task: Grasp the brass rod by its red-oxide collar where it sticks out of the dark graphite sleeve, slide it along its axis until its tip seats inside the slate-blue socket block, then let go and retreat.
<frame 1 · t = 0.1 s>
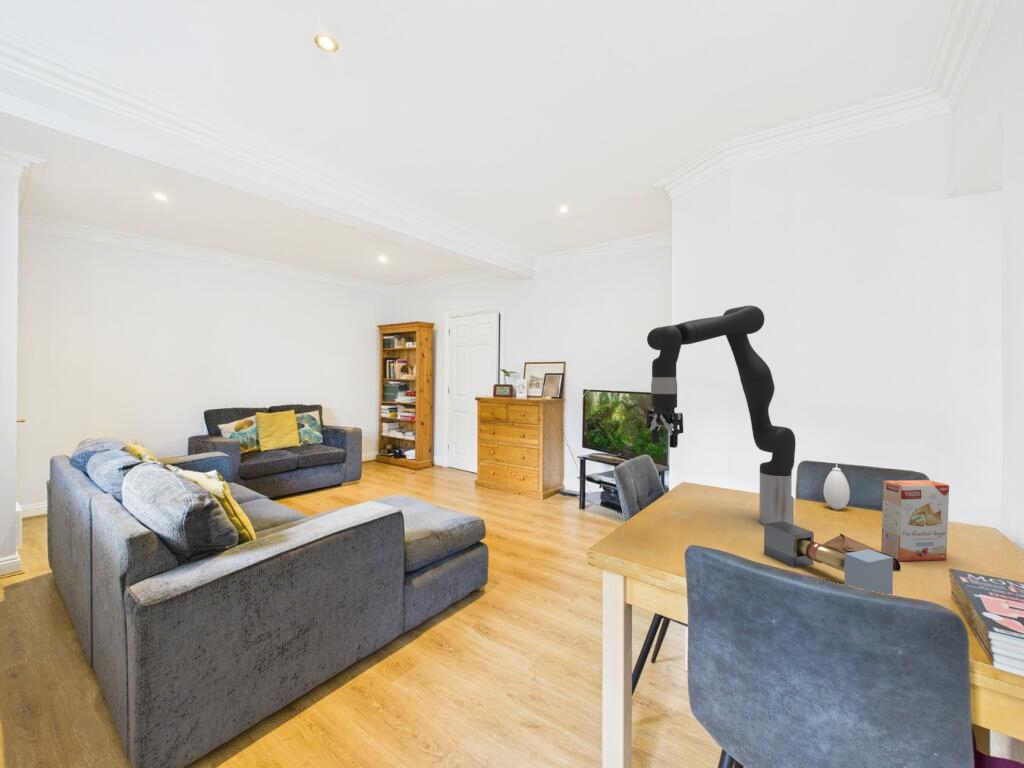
hand: (663, 445, 130), 29 cm above the table, fingers open, 8 cm apart
socket: (868, 594, 98), on the table
sleeve: (788, 558, 117), on the table
cracker box: (914, 557, 118), on the table
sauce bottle: (836, 509, 160), on the table
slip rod: (807, 548, 112), point 5 cm above the table, slide at 0.0 cm
sunglasses case: (855, 559, 118), on the table
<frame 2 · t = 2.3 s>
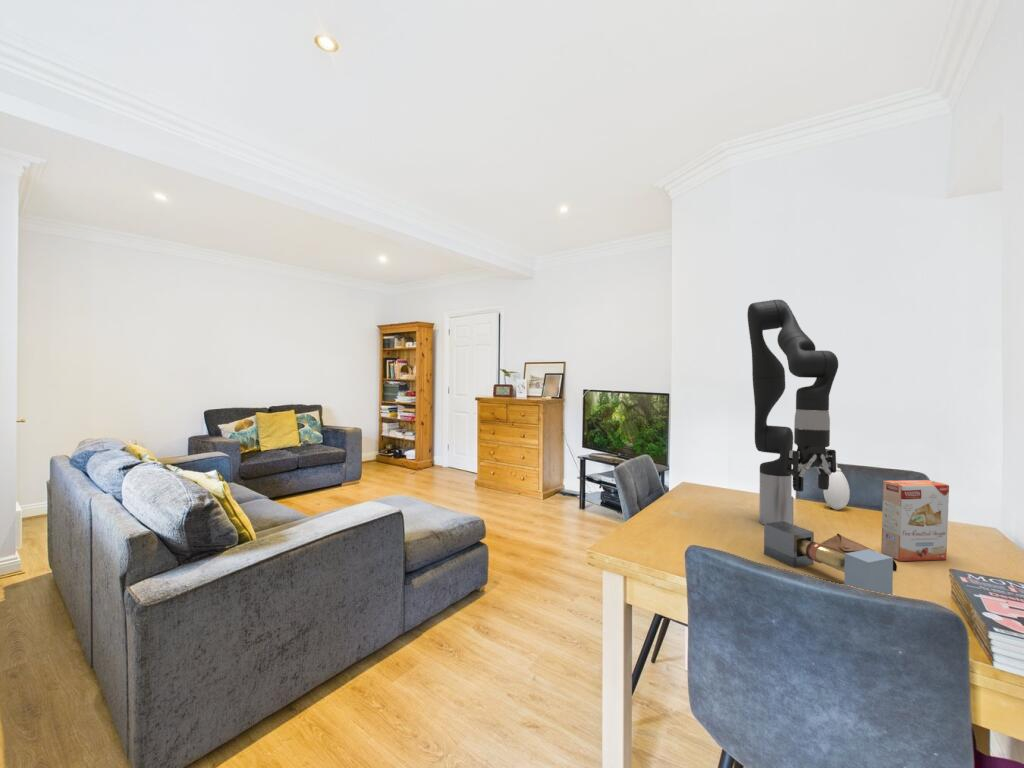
hand: (810, 490, 110), 21 cm above the table, fingers open, 8 cm apart
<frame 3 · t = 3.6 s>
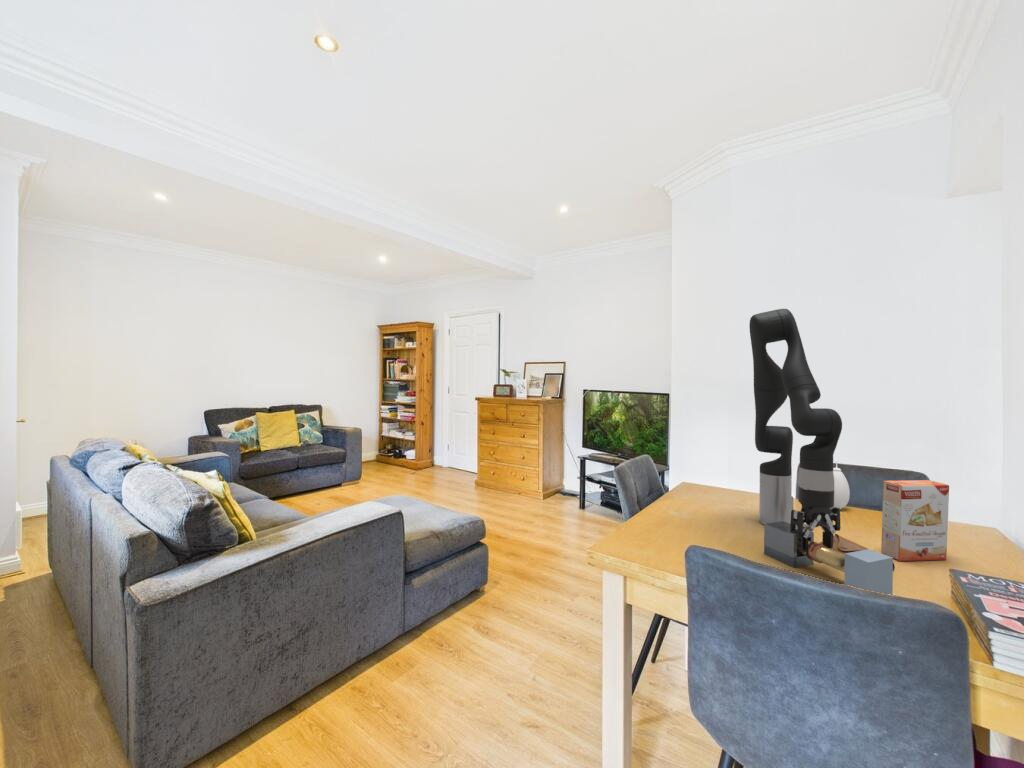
hand: (815, 549, 109), 6 cm above the table, fingers open, 8 cm apart
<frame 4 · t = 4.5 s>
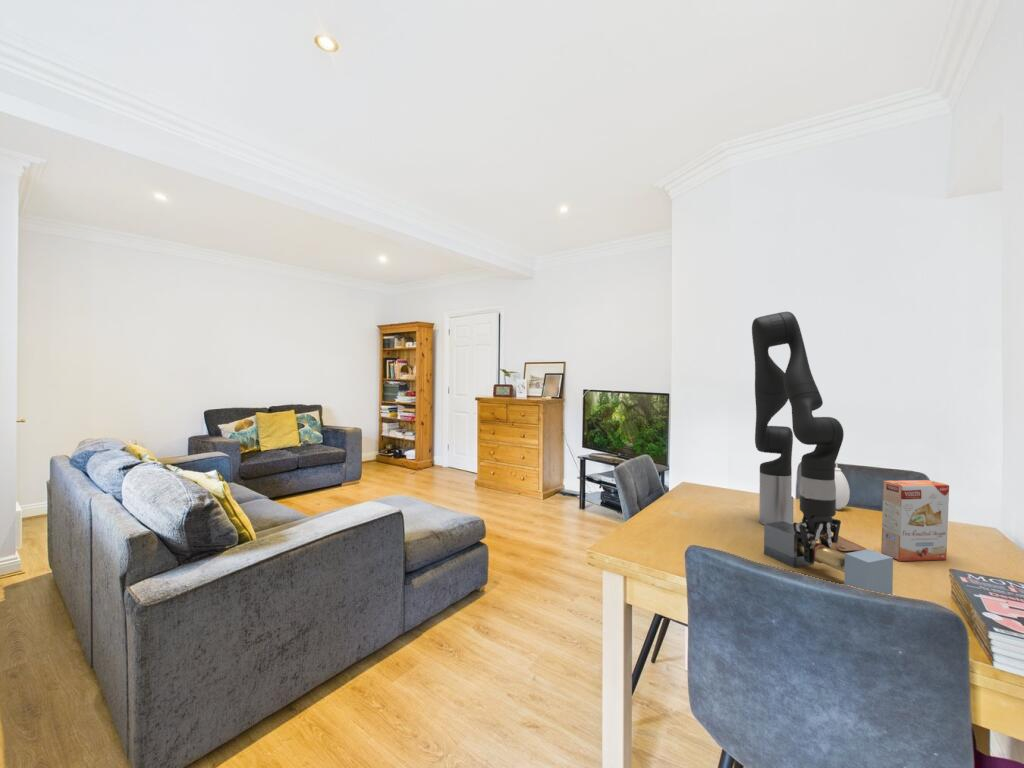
hand: (816, 560, 109), 3 cm above the table, fingers closed on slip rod, 4 cm apart
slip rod: (807, 548, 112), point 5 cm above the table, slide at 0.0 cm, touching gripper
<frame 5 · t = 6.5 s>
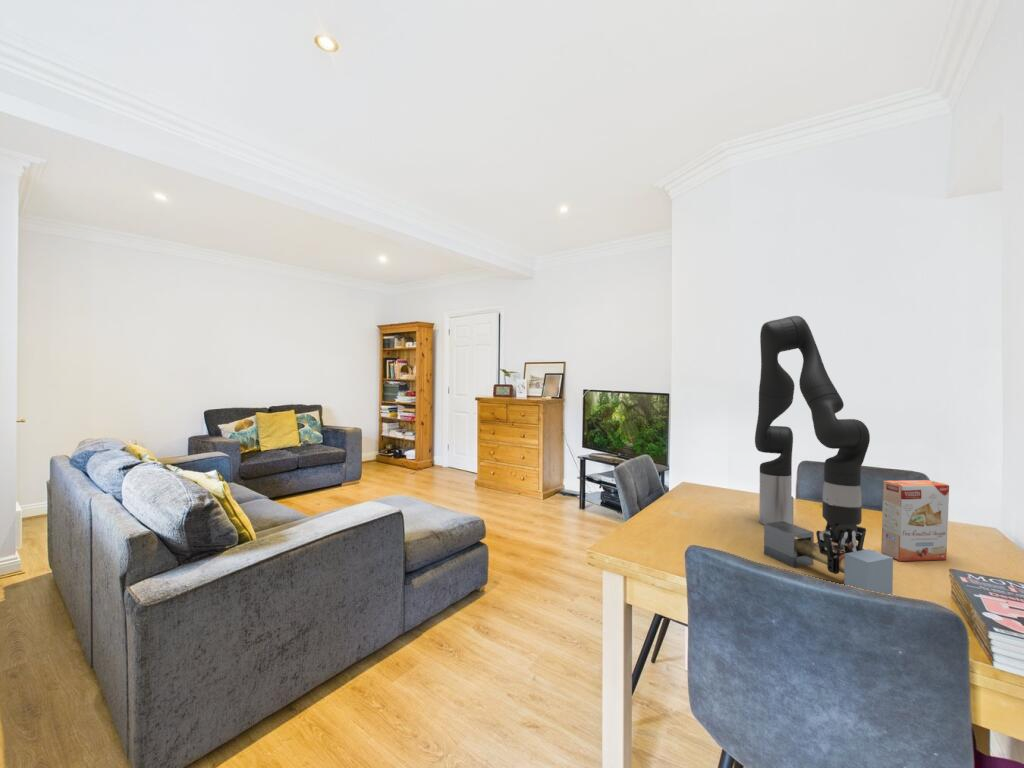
hand: (840, 570, 104), 3 cm above the table, fingers closed on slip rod, 4 cm apart
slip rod: (830, 557, 106), point 5 cm above the table, slide at 6.0 cm, touching gripper
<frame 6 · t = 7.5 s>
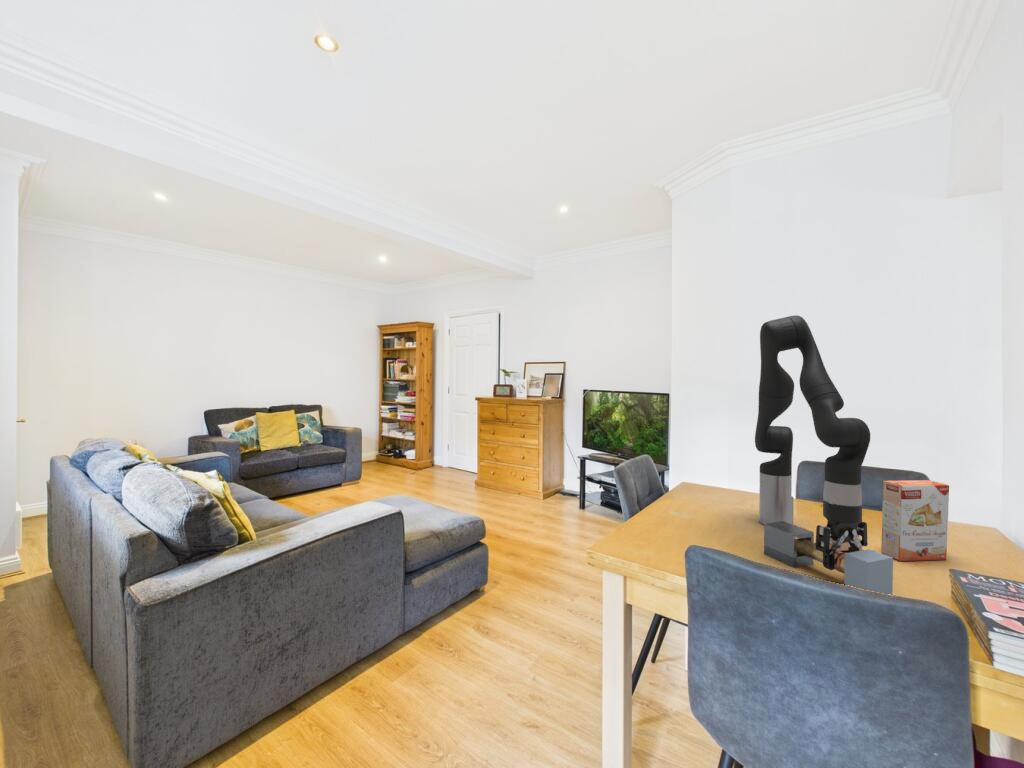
hand: (841, 566, 104), 4 cm above the table, fingers open, 8 cm apart
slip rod: (830, 557, 106), point 5 cm above the table, slide at 6.0 cm
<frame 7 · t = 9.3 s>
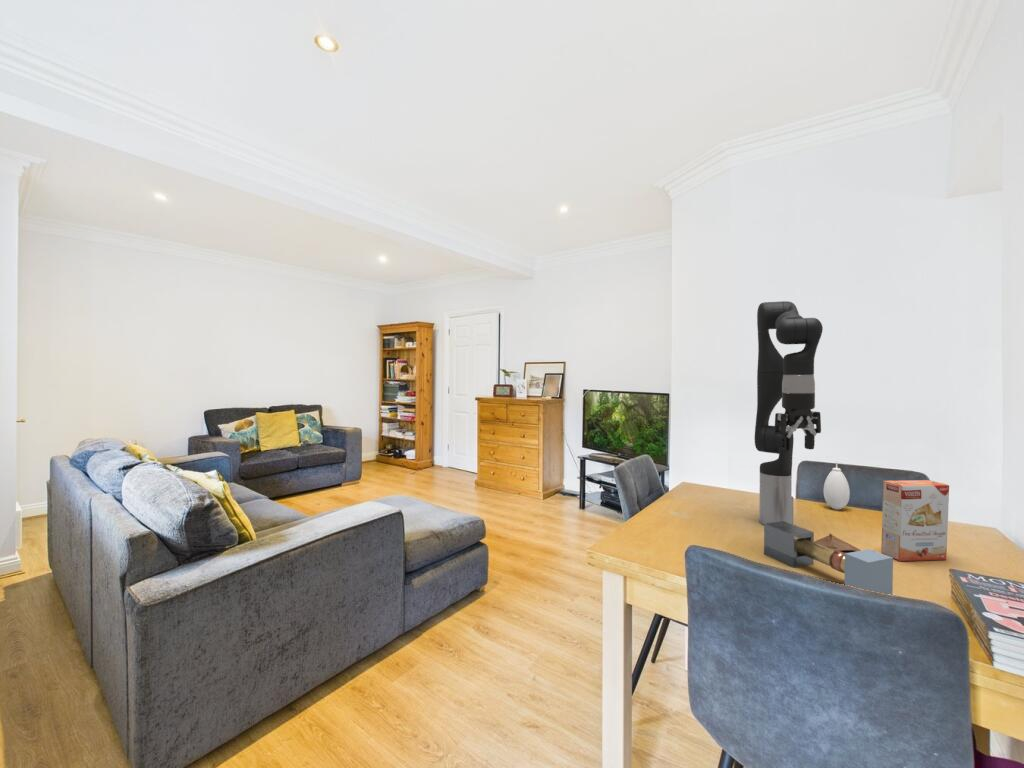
hand: (797, 450, 117), 30 cm above the table, fingers open, 8 cm apart
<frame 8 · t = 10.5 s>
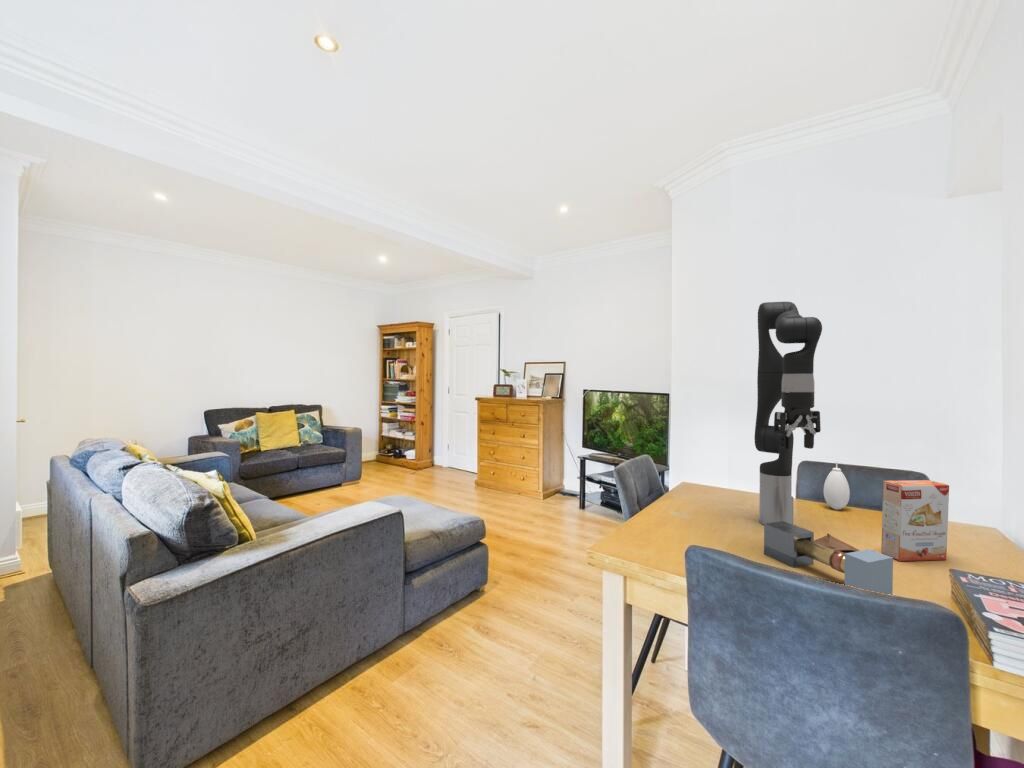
hand: (797, 449, 117), 30 cm above the table, fingers open, 8 cm apart
at the end: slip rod slide at 6.0 cm; the gripper is holding nothing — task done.
